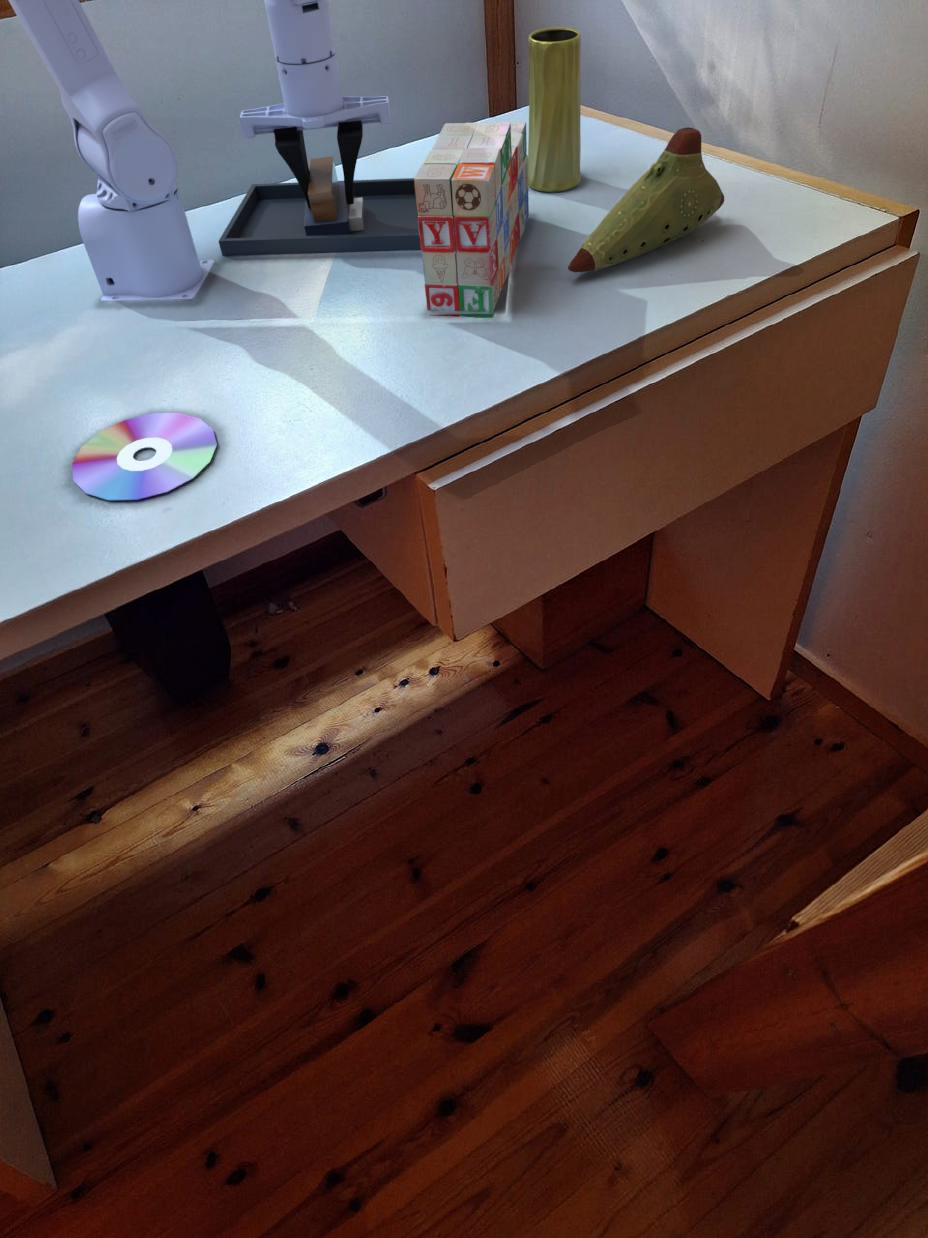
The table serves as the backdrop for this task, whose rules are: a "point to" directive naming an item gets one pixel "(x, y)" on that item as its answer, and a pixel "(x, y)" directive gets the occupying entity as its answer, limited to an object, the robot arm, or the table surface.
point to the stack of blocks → (471, 213)
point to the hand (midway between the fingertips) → (331, 202)
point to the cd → (121, 477)
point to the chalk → (356, 215)
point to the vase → (554, 109)
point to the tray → (278, 228)
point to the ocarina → (655, 207)
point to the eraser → (326, 201)
